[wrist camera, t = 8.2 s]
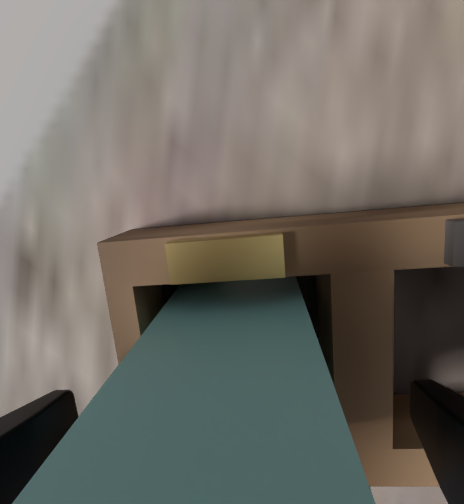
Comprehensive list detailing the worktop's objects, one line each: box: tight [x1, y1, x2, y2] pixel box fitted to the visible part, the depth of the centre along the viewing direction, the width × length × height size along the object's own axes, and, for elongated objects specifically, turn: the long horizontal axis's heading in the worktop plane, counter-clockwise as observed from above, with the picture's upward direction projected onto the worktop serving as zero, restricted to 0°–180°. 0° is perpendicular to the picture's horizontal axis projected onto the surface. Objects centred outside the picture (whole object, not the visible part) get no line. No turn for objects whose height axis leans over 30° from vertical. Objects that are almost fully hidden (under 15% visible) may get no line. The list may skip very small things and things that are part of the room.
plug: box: [12, 276, 375, 504], centre depth 8 cm, size 4×4×9 cm
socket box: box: [97, 203, 464, 486], centre depth 10 cm, size 14×8×3 cm, turn 95°
